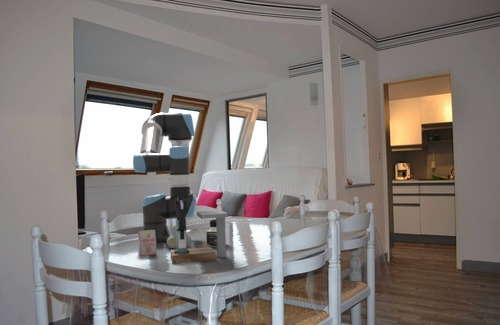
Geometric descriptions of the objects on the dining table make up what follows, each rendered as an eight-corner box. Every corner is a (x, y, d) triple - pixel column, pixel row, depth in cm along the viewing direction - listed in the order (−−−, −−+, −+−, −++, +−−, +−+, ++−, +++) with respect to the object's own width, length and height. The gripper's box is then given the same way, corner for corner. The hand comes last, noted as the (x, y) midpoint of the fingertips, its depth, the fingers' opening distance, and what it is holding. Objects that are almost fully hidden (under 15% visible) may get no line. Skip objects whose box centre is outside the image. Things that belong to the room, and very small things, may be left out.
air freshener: (163, 249, 176) (163, 226, 176) (172, 245, 184) (172, 224, 184) (186, 249, 173) (185, 226, 173) (194, 246, 181) (193, 224, 181)
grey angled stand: (198, 254, 161) (196, 211, 161) (222, 252, 163) (220, 210, 164) (202, 261, 147) (201, 214, 148) (228, 259, 150) (227, 213, 150)
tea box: (138, 254, 165) (137, 230, 166) (154, 252, 168) (153, 229, 169) (139, 256, 162) (139, 231, 162) (156, 254, 165) (155, 230, 165)
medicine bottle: (206, 246, 179) (205, 220, 179) (213, 243, 185) (213, 218, 186) (220, 247, 176) (219, 220, 176) (227, 244, 183) (226, 218, 183)
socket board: (170, 257, 157) (170, 250, 157) (210, 254, 161) (210, 246, 161) (172, 263, 145) (172, 255, 145) (215, 260, 149) (215, 252, 149)
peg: (186, 255, 154) (185, 219, 155) (187, 257, 150) (186, 220, 151) (176, 256, 153) (175, 220, 154) (177, 258, 150) (176, 221, 150)
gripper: (169, 186, 160) (170, 244, 159) (171, 186, 144) (173, 251, 143) (187, 185, 162) (189, 242, 161) (192, 186, 146) (194, 249, 145)
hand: (181, 246), depth 152 cm, fingers closed on peg, 4 cm apart
